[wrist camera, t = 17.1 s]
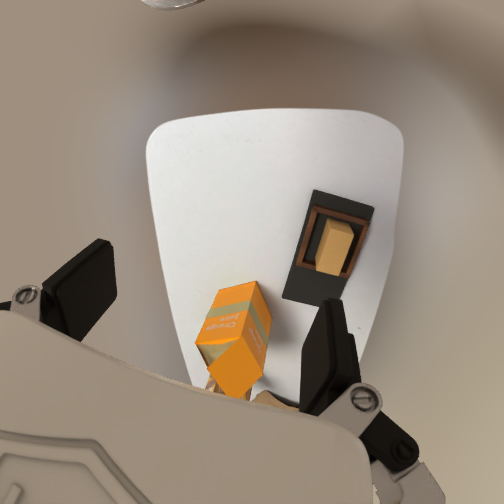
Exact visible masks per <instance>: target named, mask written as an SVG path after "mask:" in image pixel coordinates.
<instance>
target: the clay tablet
mask: <svg viewBox="0 0 504 504" xmlns="http://www.w3.org/2000/svg"><path fill="white" fill-rule="evenodd" d="M252 402H255V403H260V404H264V405H269V406H273V407H278V408H283V409H288V410H292V411H297V412H299V408H294V407H288V406H287V405H285V404H283V403H282V402H280V401H278V400H277V399H275V398H274V397H273V396H272V395H271V394H270V393H269V392H268V391H262V392H261V393H259V394H257V395H256V398H255V399H254V400H253V401H252Z"/></svg>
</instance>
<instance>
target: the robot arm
mask: <svg viewBox="0 0 504 504" xmlns="http://www.w3.org/2000/svg"><path fill="white" fill-rule="evenodd" d="M42 286H43V289H42V290H41V291H40V289H39V288H38V287H37V286H34V285H26V286H23V287H21V288H19V289H18V290H16V292H15V293H14V294H13V297H12V301H8V302H3V303H0V504H373V484H374V485H375V487H376V489H377V490H378V491H376V494H377V495H378V497H379V500H380V504H445V495H444V493H443V491H442V490H441V488H440V486H439V485H438V483H437V482H436V480H435V479H434V477H433V476H432V474H431V473H430V471H429V470H428V468H427V467H426V465H425V463H424V462H422V463H420V462H419V460H418V457H419V447H418V445H417V443H416V441H415V440H414V439H413V438H412V437H410V436H409V435H408V434H407V433H406V432H405V431H404V430H402V429H401V428H400V427H399V426H398V425H397V424H396V423H394V422H393V421H392V420H391V419H390V418H389V417H388V416H386V415H385V414H384V413H383V412H382V411H381V407H382V402H383V401H382V397H381V395H380V393H379V392H378V391H377V390H376V389H375V388H374V387H373V386H371V385H369V384H365V383H362V382H361V376H360V368H359V362H358V356H357V350H356V344H355V338H354V335H353V334H351V333H348V330H347V324H346V318H345V312H344V307H343V302H342V300H340V299H335V298H331V297H329V298H328V299H327V300H323V301H322V303H321V305H320V307H319V310H318V312H317V314H316V317H315V319H314V321H313V324H312V326H311V328H310V331H309V333H308V335H307V337H306V339H305V342H304V344H303V347H302V355H301V382H300V401H299V412H297V411H292V410H288V409H283V408H278V407H273V406H269V405H264V404H260V403H255V402H251V401H247V400H243V399H238V398H234V397H230V396H226V395H223V394H219V393H215V392H211V391H208V390H204V389H201V388H198V387H194V386H191V385H187V384H185V383H181V382H178V381H175V380H172V379H169V378H166V377H163V376H160V375H158V374H155V373H152V372H149V371H147V370H144V369H141V368H139V367H136V366H134V365H131V364H129V363H126V362H123V361H121V360H119V359H116V358H114V357H112V356H109V355H107V354H105V353H102V352H100V351H98V350H96V349H94V348H91V347H89V346H87V345H85V344H83V343H81V341H82V340H83V338H84V337H85V336H86V335H87V333H88V332H89V331H90V330H91V328H92V327H93V326H94V325H95V323H96V322H97V321H98V320H99V319H100V317H101V316H102V315H103V314H104V313H105V311H106V310H107V309H108V308H109V307H110V305H111V304H112V303H113V302H114V301H115V299H116V297H117V287H116V277H115V266H114V251H113V246H112V245H111V243H110V242H109V241H107V240H103V239H99V238H98V239H97V240H95V241H94V242H93V243H91V244H90V245H89V246H88V247H86V248H85V249H83V250H82V251H81V252H80V253H78V254H77V255H76V256H75V257H73V258H72V259H71V260H70V261H68V262H67V263H66V264H65V265H63V266H62V267H61V268H60V269H59V270H57V271H56V272H55V273H54V274H53V275H51V276H50V277H49V278H48V279H47V280H46V281H44V282H43V283H42Z"/></svg>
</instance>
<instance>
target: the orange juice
mask: <svg viewBox="0 0 504 504" xmlns="http://www.w3.org/2000/svg"><path fill="white" fill-rule="evenodd" d="M271 321H272V316H271V314H270V312H269V309H268V307H267V305H266V303H265V300H264V298H263V296H262V294H261V291H260V289H259V287H258V284H257V282H256V281H253V282H249V283H245V284H241V285H237V286H233V287H229V288H225V289H221V290H219V291H218V293H217V296H216V298H215V300H214V302H213V304H212V306H211V309H210V310H209V312H208V314H207V317H206V320H205V322H204V324H203V326H202V329H201V331H200V333H199V335H198V337H197V340H196V342H195V344H196V346H197V347H198V349H199V351H200V353H201V355H202V357H203V359H204V361H205V363H206V365H207V370H208V371H209V372H210V374H211V375H212V377H213V378H214V379H215V381H216V382H217V383H218V385H219V386H220V388H221V389H222V390H223V392H224V393H225V394H226V395H227V396H230V397H234V398H238V399H240V398H241V397H242V396H243V395H244V394H245V393H246V392H247V391H248V389H249V388H250V387H251V386H252V385H253V384H254V383H255V382H256V381H257V380H258V379H259V378H260V377H261V376H262V375H263V369H264V363H265V357H266V351H267V347H268V341H269V333H270V327H271Z"/></svg>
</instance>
